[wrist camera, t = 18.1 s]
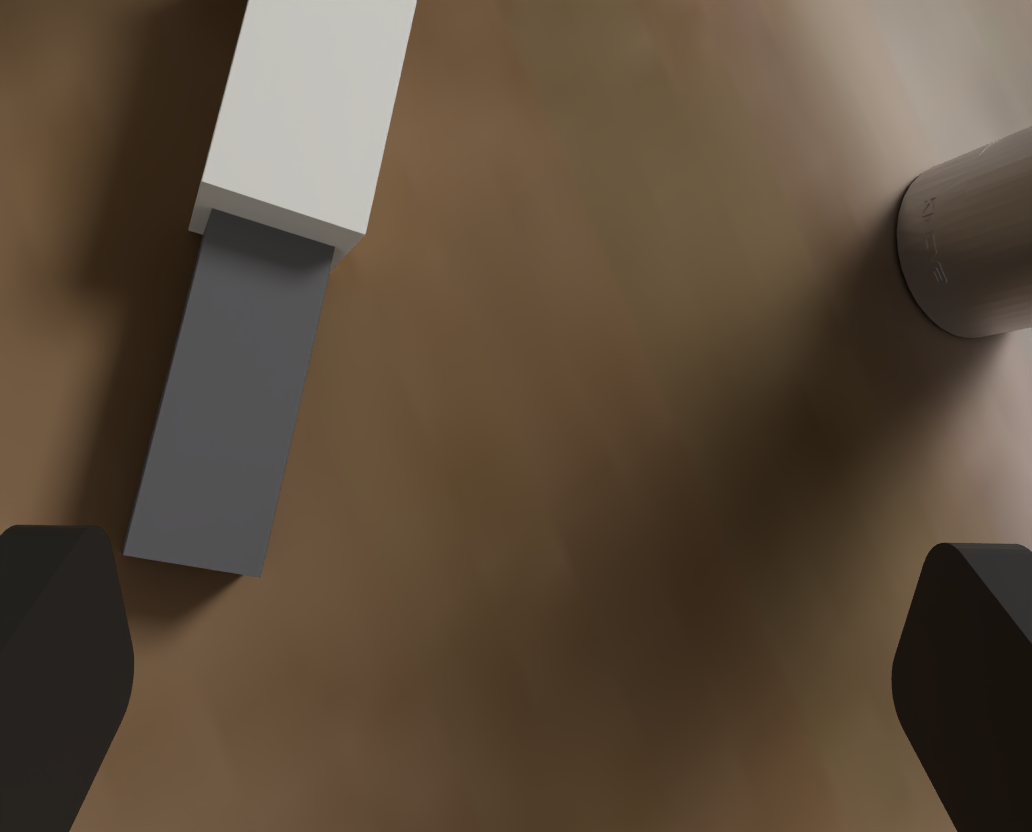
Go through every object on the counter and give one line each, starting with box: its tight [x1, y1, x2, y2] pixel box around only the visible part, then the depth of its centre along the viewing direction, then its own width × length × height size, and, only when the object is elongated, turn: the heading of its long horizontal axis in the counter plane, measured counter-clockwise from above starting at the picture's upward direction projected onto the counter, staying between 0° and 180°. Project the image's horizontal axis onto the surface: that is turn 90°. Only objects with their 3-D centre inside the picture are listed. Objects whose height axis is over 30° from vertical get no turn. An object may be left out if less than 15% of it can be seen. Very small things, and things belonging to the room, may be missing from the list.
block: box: [122, 0, 417, 577], centre depth 29 cm, size 21×5×5 cm, turn 168°
